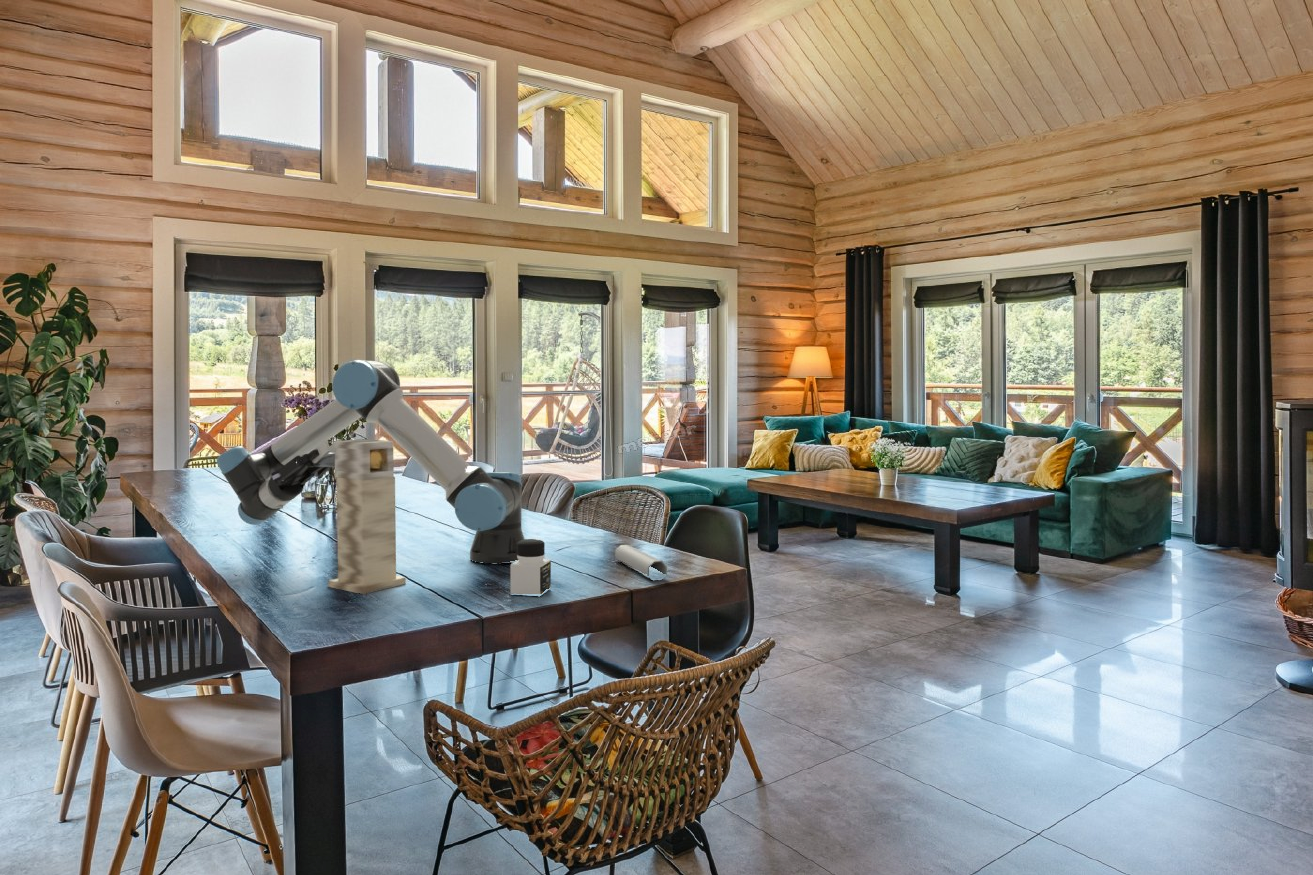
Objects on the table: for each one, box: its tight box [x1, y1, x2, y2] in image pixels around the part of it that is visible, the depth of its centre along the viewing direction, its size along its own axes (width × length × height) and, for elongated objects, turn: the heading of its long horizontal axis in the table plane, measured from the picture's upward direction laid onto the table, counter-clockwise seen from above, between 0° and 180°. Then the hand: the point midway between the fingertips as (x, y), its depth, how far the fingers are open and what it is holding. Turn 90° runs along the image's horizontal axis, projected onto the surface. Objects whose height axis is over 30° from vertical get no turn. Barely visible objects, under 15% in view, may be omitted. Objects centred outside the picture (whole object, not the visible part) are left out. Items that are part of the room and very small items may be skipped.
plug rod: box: [301, 449, 386, 469], centre depth 205 cm, size 26×4×4 cm, turn 57°
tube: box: [614, 544, 668, 576], centre depth 221 cm, size 5×5×25 cm
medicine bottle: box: [509, 538, 552, 594], centre depth 197 cm, size 7×7×12 cm
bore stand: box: [327, 438, 407, 595], centre depth 201 cm, size 12×12×33 cm
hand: (334, 445), depth 206 cm, fingers closed on plug rod, 3 cm apart
